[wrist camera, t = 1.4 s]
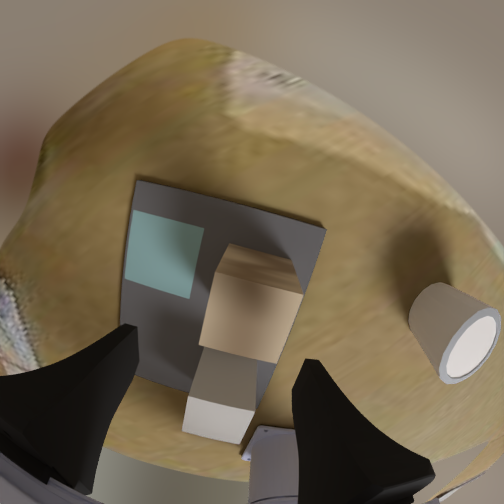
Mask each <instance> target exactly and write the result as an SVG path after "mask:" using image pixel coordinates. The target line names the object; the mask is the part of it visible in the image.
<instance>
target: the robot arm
mask: <svg viewBox="0 0 504 504" xmlns="http://www.w3.org/2000/svg"><path fill="white" fill-rule="evenodd" d="M139 361H140V359H139V345H138V327H137V326H133V325H130V324H126V323H124V324H123V325H121V326H120V327H118V328H116V329H115V330H113V331H112V332H110V333H109V334H107V335H106V336H104V337H103V338H101V339H100V340H98V341H96V342H95V343H93V344H92V345H90V346H88V347H86V348H85V349H83V350H81V351H79V352H77V353H76V354H74V355H72V356H70V357H68V358H66V359H64V360H61V361H59V362H56V363H54V364H51V365H49V366H45V367H42V368H39V369H36V370H33V371H29V372H25V373H20V374H14V375H7V376H0V503H1V504H103V503H101V502H99V501H96V500H94V499H92V498H90V497H87V496H85V495H89V494H91V493H92V489H93V484H94V478H95V473H96V469H97V465H98V461H99V457H100V453H101V450H102V446H103V443H104V440H105V437H106V434H107V431H108V428H109V425H110V423H111V420H112V418H113V416H114V414H115V412H116V410H117V408H118V406H119V404H120V403H121V401H122V399H123V397H124V395H125V393H126V391H127V389H128V387H129V386H130V384H131V382H132V380H133V377H134V375H135V372H136V369H137V367H138V364H139ZM292 413H293V420H294V427H295V430H293V429H285V428H277V427H270V426H263V425H261V426H258V427H257V429H256V431H255V432H254V434H253V436H252V438H251V440H250V442H249V444H248V446H247V447H246V449H245V451H244V453H243V455H242V458H241V459H243V460H246V461H250V479H249V497H248V504H411V503H413V502H414V498H413V495H414V494H415V493H417V492H418V491H420V490H421V489H423V488H424V487H425V486H427V485H428V484H429V483H431V482H432V481H433V480H434V478H435V473H434V470H433V468H432V465H431V463H430V460H429V459H427V458H425V457H423V456H421V455H418V454H416V453H414V452H412V451H410V450H408V449H407V448H405V447H403V446H402V445H400V444H398V443H397V442H395V441H394V440H392V439H391V438H389V437H388V436H387V435H385V434H384V433H383V432H381V431H380V430H379V429H378V428H376V427H375V426H374V425H373V424H372V423H371V422H370V421H368V420H367V419H366V418H365V417H364V416H363V415H362V414H361V413H360V412H359V411H358V410H357V409H356V407H355V406H354V405H353V404H352V403H351V402H350V401H349V399H348V398H347V397H346V396H345V395H344V393H343V392H342V391H341V390H340V388H339V387H338V386H337V384H336V383H335V382H334V380H333V379H332V378H331V376H330V375H329V373H328V372H327V371H326V369H325V368H324V366H323V365H322V364H321V362H320V361H319V360H315V359H305V361H304V363H303V365H302V368H301V370H300V372H299V375H298V377H297V379H296V381H295V384H294V386H293V388H292ZM423 504H440V502H439V499H438V498H435V499H433V500H431V501H428V502H426V503H423Z"/></svg>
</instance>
